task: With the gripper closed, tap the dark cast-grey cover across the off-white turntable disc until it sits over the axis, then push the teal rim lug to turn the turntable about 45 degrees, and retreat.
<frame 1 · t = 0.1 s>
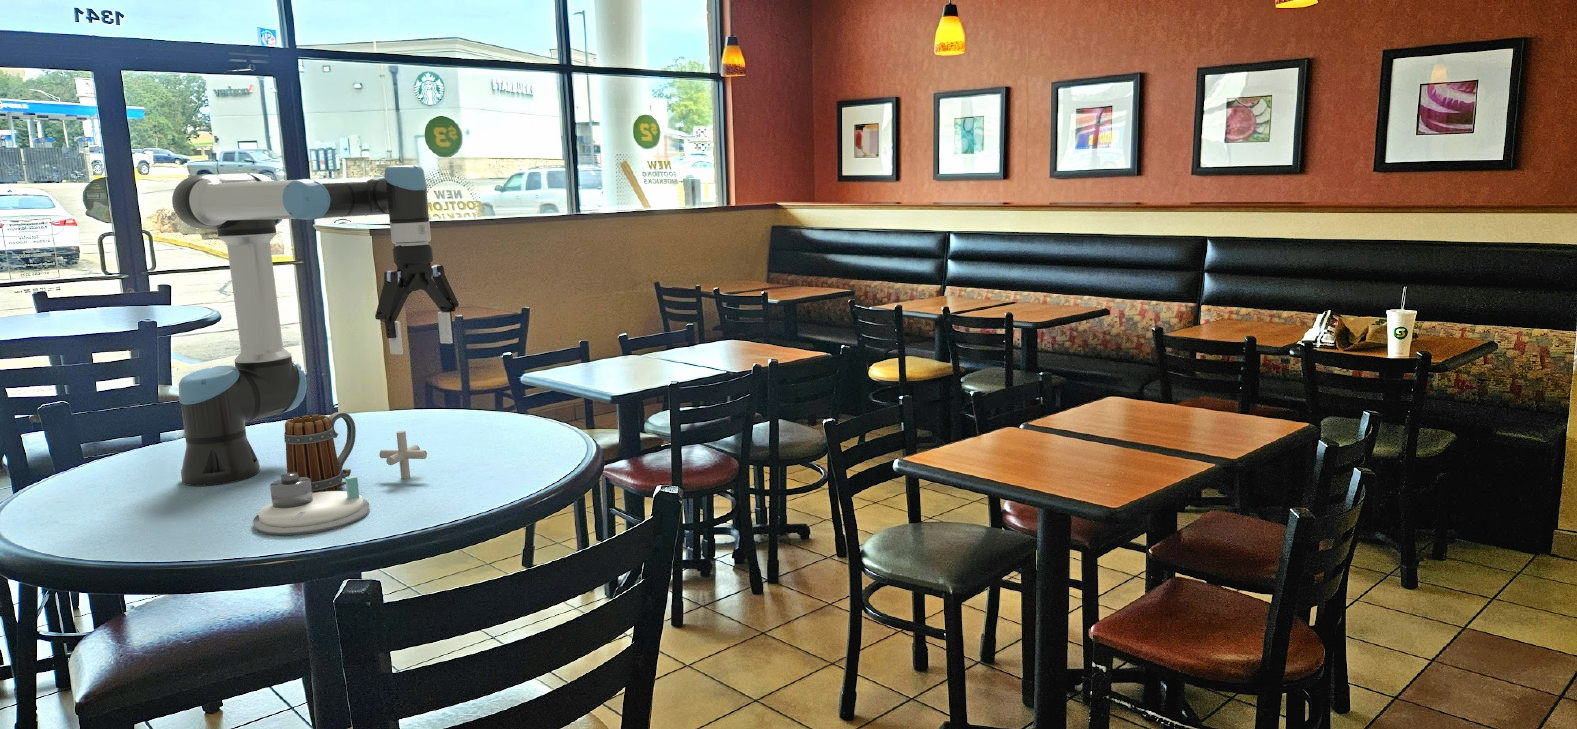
hand: (422, 348, 220), 28 cm above the table, fingers open, 13 cm apart
cover: (292, 502, 204), point 2 cm above the table, touching turntable
turntable base: (313, 518, 202), on the table
mug: (326, 488, 223), on the table
turntable: (310, 498, 202), point 4 cm above the table, hinge at 0.0°, touching cover
pipe connector: (405, 478, 228), on the table
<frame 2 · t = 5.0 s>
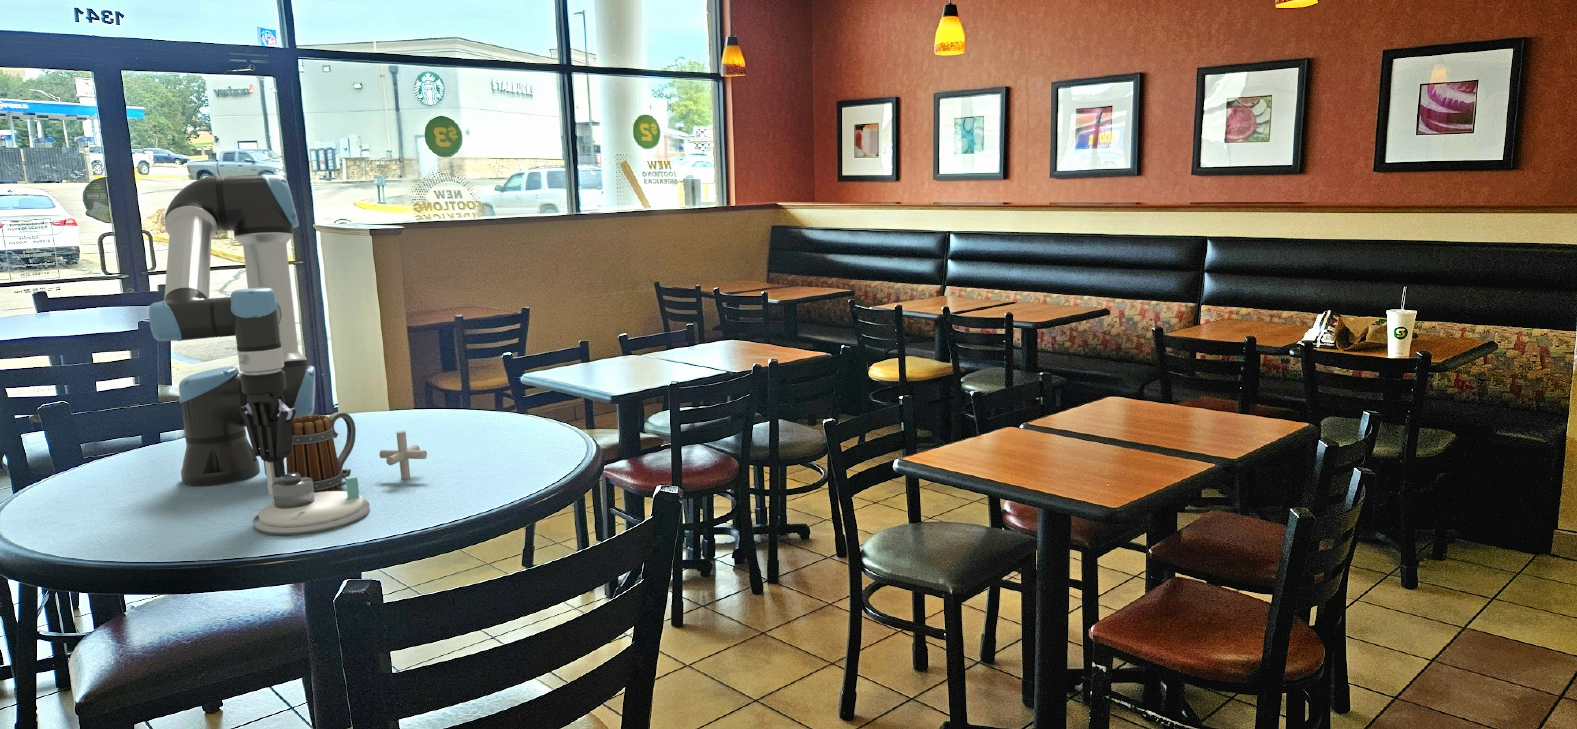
hand: (277, 492, 205), 4 cm above the table, fingers closed
cover: (294, 502, 204), point 3 cm above the table, touching gripper
turntable: (310, 498, 202), point 4 cm above the table, hinge at 0.0°
everything else where it was.
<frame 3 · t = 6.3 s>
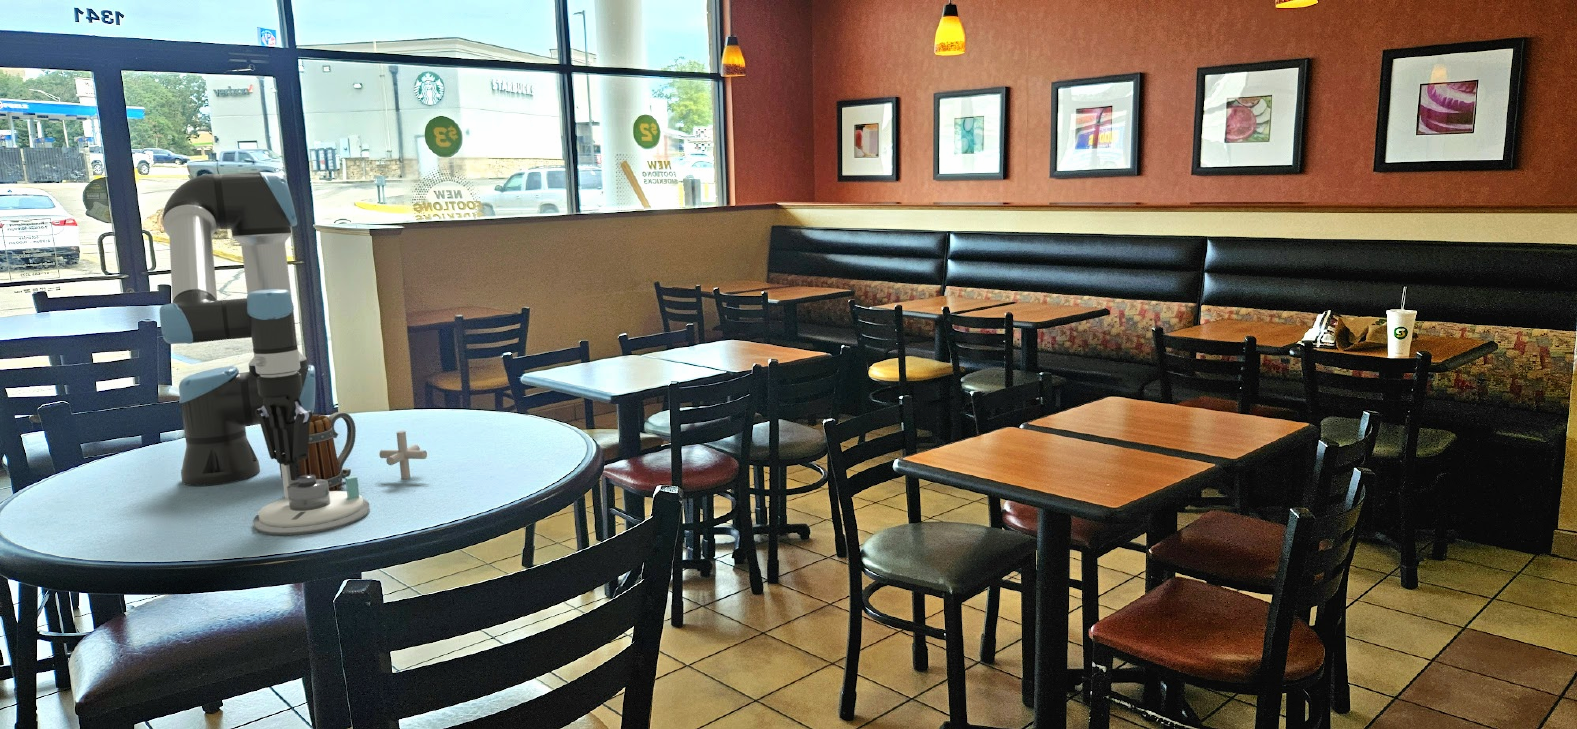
hand: (293, 495, 204), 4 cm above the table, fingers closed
cover: (310, 505, 202), point 2 cm above the table, touching gripper, turntable
turntable: (310, 498, 202), point 4 cm above the table, hinge at 0.0°, touching cover
everything else where it was.
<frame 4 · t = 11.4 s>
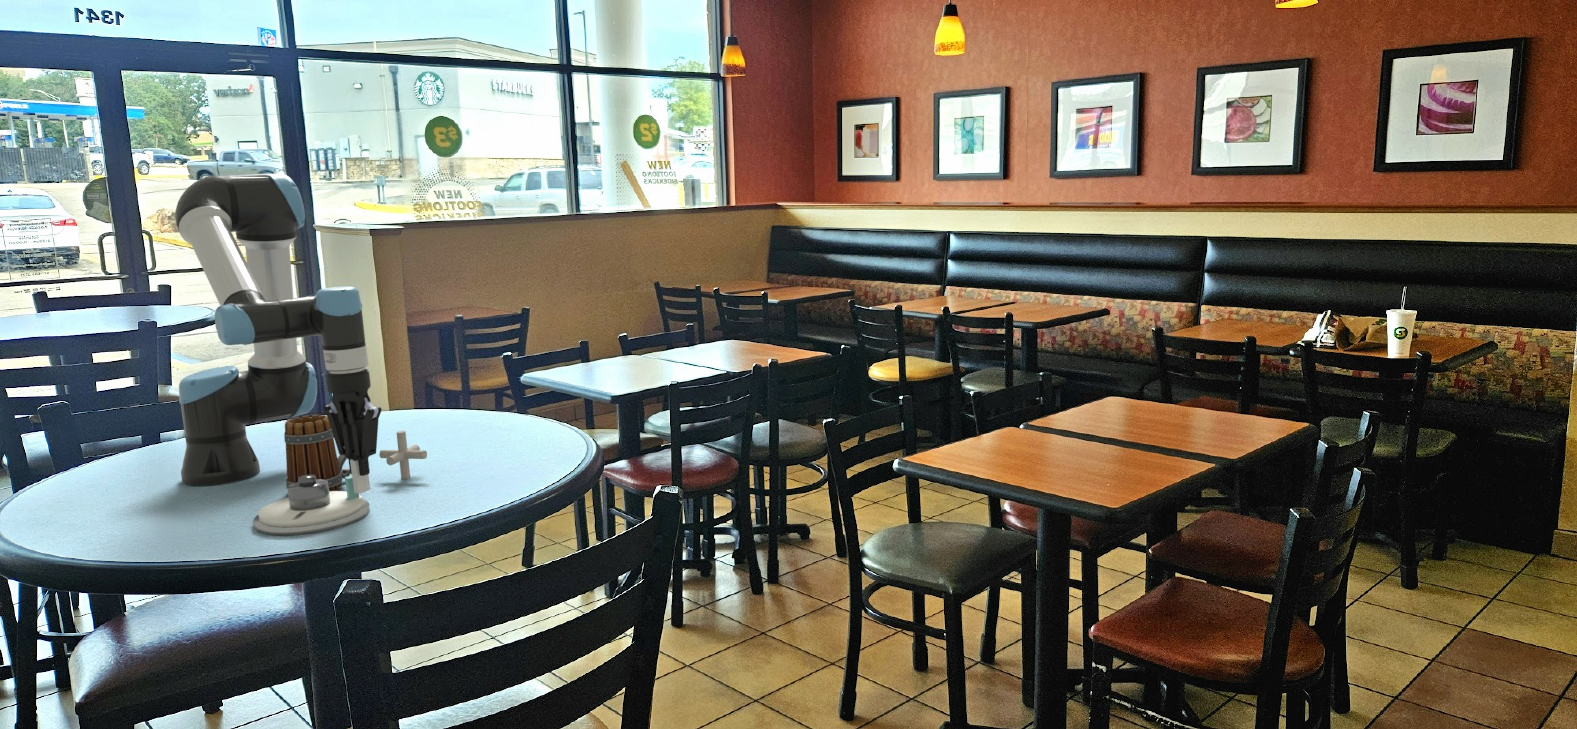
hand: (362, 491, 206), 4 cm above the table, fingers closed
cover: (310, 505, 202), point 2 cm above the table, touching turntable
turntable: (310, 498, 202), point 4 cm above the table, hinge at 0.9°, touching cover, gripper
everything else where it was.
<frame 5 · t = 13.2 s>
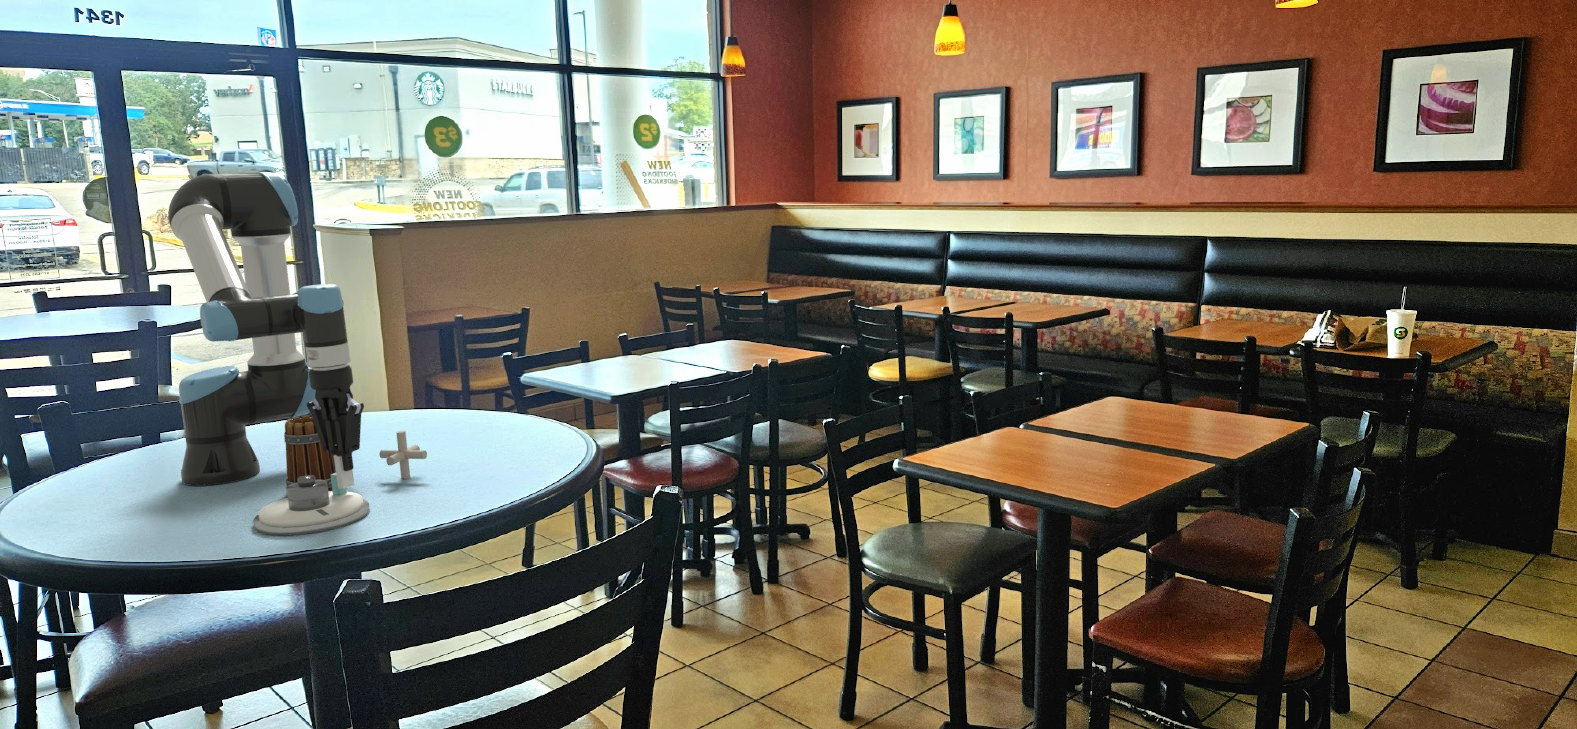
hand: (346, 486, 208), 4 cm above the table, fingers closed
turntable: (310, 498, 202), point 4 cm above the table, hinge at 37.2°, touching cover, gripper
everything else where it was.
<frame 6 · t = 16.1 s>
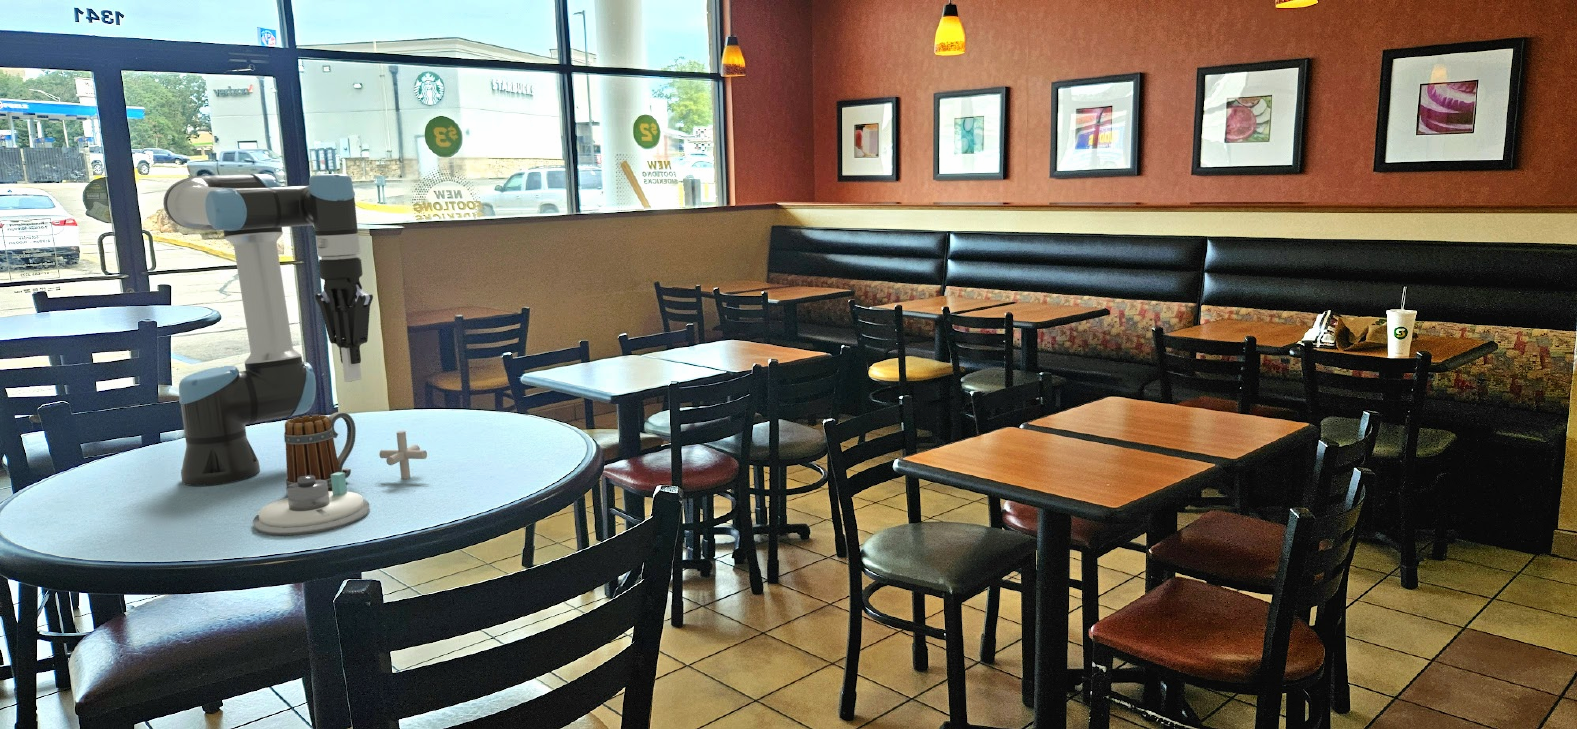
hand: (353, 380, 207), 24 cm above the table, fingers closed
turntable: (310, 498, 202), point 4 cm above the table, hinge at 37.2°, touching cover
everything else where it was.
at the end: turntable at +37° (first picture: +0°); cover 0.4 cm from the turntable (horizontally); cover tilted 0° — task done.
